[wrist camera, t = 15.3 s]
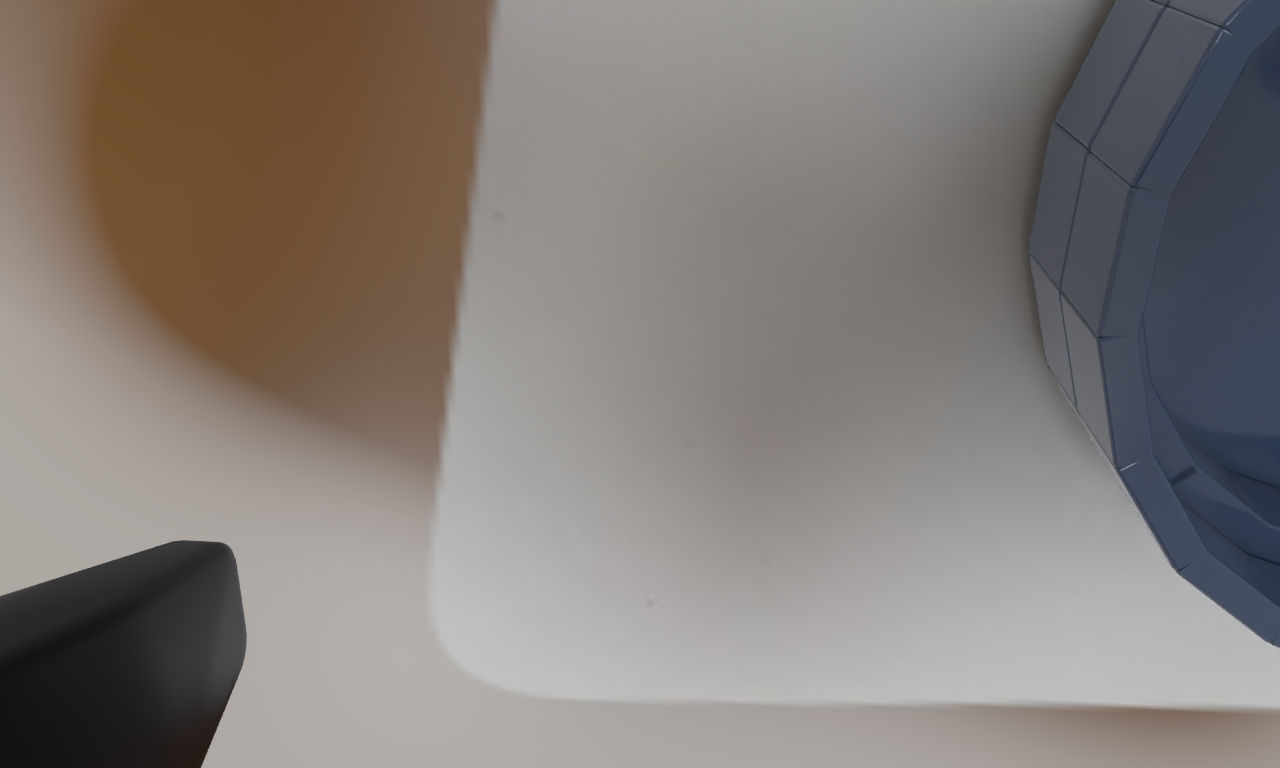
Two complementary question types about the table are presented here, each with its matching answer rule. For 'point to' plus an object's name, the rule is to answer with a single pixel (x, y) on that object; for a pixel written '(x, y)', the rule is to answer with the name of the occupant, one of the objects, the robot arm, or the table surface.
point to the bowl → (1175, 282)
